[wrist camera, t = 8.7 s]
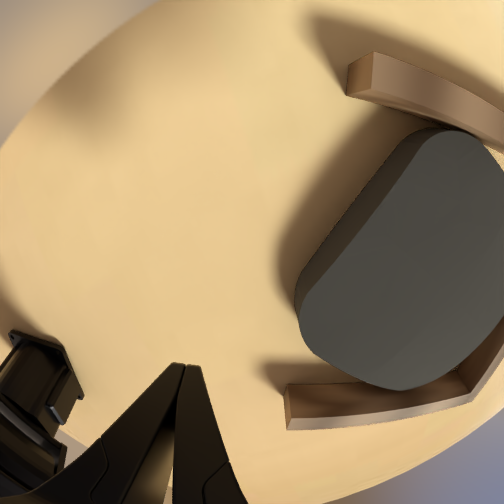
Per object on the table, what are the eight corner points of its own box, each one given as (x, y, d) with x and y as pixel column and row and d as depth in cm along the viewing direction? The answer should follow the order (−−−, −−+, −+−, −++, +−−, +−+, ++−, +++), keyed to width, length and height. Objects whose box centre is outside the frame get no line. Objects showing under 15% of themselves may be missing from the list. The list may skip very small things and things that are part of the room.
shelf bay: (283, 397, 19) (286, 430, 17) (348, 65, 11) (373, 51, 8) (459, 380, 20) (471, 401, 17) (545, 158, 11) (572, 168, 9)
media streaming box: (423, 97, 11) (457, 96, 9) (521, 244, 15) (545, 261, 12) (265, 306, 16) (267, 341, 14) (407, 378, 20) (420, 405, 17)
